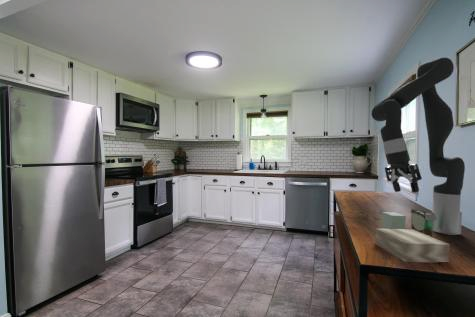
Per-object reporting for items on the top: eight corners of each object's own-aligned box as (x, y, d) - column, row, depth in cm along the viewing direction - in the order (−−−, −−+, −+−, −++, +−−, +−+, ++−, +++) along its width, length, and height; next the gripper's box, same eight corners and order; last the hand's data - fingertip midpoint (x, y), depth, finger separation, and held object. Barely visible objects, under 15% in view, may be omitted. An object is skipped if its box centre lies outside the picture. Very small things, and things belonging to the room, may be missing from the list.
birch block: (412, 245, 91) (412, 229, 91) (448, 263, 76) (449, 244, 76) (375, 244, 90) (375, 228, 90) (404, 262, 75) (405, 243, 75)
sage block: (394, 235, 101) (395, 212, 101) (404, 240, 96) (405, 215, 95) (381, 235, 101) (382, 212, 101) (390, 239, 95) (391, 215, 95)
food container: (442, 241, 95) (444, 216, 95) (424, 240, 97) (426, 214, 96) (425, 232, 107) (426, 209, 107) (409, 230, 109) (410, 208, 108)
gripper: (419, 146, 90) (431, 190, 89) (390, 151, 104) (400, 189, 103) (401, 150, 89) (413, 194, 88) (375, 155, 103) (384, 193, 102)
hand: (406, 191), depth 95 cm, fingers open, 8 cm apart
